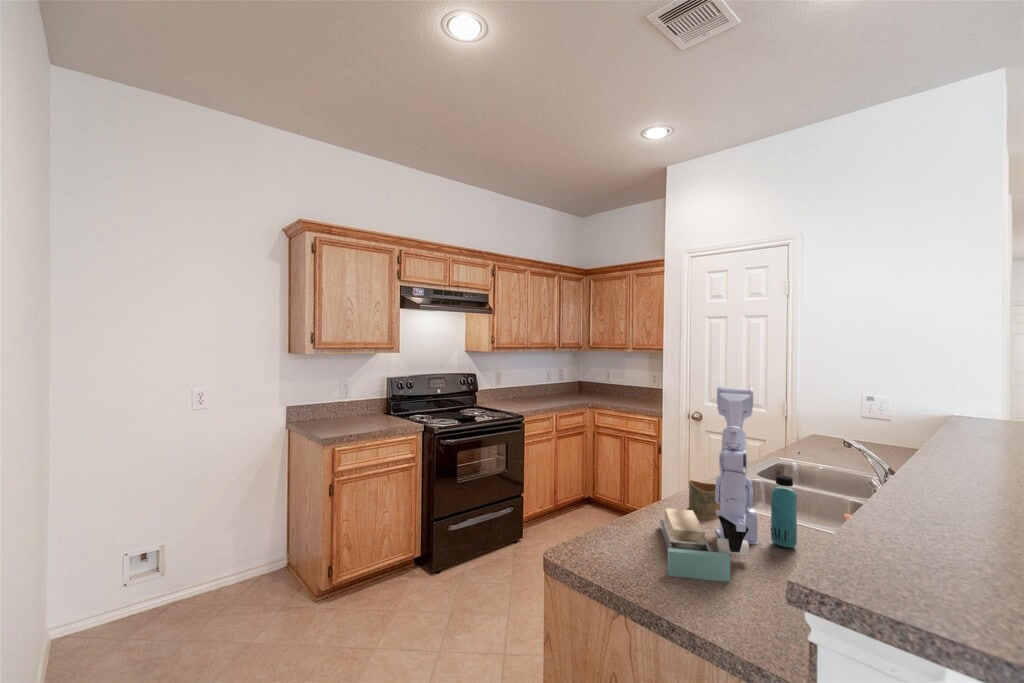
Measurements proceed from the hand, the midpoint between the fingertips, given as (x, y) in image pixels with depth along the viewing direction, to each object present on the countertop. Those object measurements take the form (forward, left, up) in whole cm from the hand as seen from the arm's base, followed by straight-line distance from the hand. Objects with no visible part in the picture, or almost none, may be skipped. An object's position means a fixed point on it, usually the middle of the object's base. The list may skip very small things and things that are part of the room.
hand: (732, 547), depth 119 cm
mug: (-3, -33, -4) cm, 34 cm away
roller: (0, 0, -2) cm, 2 cm away
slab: (+11, -9, 0) cm, 14 cm away
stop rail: (+11, +10, -4) cm, 15 cm away
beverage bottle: (-16, -11, -4) cm, 20 cm away
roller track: (+11, -4, -4) cm, 12 cm away
